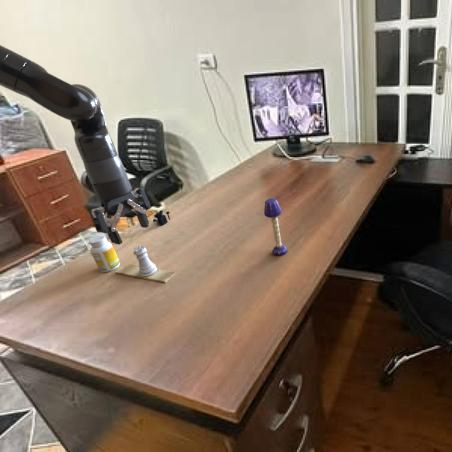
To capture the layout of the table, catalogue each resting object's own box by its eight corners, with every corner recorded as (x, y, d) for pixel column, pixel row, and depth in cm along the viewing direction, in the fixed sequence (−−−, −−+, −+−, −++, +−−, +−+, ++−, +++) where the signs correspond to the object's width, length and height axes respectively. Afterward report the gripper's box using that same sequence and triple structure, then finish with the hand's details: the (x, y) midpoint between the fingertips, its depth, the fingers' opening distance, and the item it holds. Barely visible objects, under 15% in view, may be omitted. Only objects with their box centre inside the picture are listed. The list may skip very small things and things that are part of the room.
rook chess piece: (147, 279, 93) (136, 254, 89) (136, 275, 95) (125, 250, 92) (161, 270, 97) (151, 245, 93) (151, 266, 99) (141, 242, 95)
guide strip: (115, 273, 98) (115, 271, 98) (127, 265, 101) (126, 263, 101) (165, 283, 92) (164, 281, 92) (176, 274, 95) (175, 272, 95)
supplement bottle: (99, 275, 98) (84, 246, 94) (101, 265, 103) (86, 237, 98) (120, 268, 100) (106, 240, 95) (121, 259, 104) (108, 232, 100)
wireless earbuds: (157, 229, 120) (152, 216, 117) (152, 228, 121) (147, 215, 118) (173, 219, 125) (168, 207, 123) (168, 219, 126) (163, 206, 124)
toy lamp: (291, 250, 101) (282, 197, 93) (281, 258, 98) (271, 205, 89) (279, 246, 103) (269, 195, 95) (268, 254, 100) (257, 202, 92)
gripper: (121, 164, 89) (142, 220, 97) (68, 186, 78) (97, 247, 85) (143, 166, 87) (163, 223, 95) (92, 188, 75) (119, 251, 83)
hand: (132, 235), depth 90 cm, fingers open, 8 cm apart
